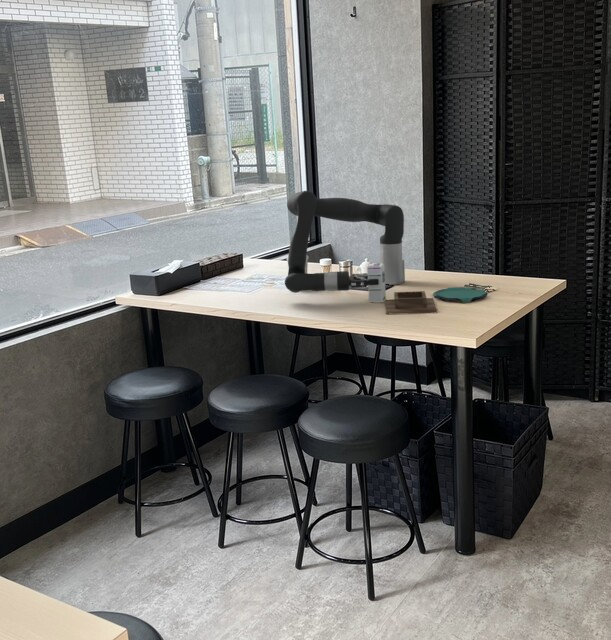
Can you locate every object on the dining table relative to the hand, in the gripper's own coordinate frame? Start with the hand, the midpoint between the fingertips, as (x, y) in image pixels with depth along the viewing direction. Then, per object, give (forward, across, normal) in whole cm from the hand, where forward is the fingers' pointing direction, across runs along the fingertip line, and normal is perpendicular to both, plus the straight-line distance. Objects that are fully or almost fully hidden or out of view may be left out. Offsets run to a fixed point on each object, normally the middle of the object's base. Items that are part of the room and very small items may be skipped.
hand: (378, 279), depth 297 cm
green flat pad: (+34, +6, +9) cm, 36 cm away
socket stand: (+11, -12, +8) cm, 19 cm away
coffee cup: (-34, +28, +9) cm, 45 cm away
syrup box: (-1, 0, +9) cm, 9 cm away
